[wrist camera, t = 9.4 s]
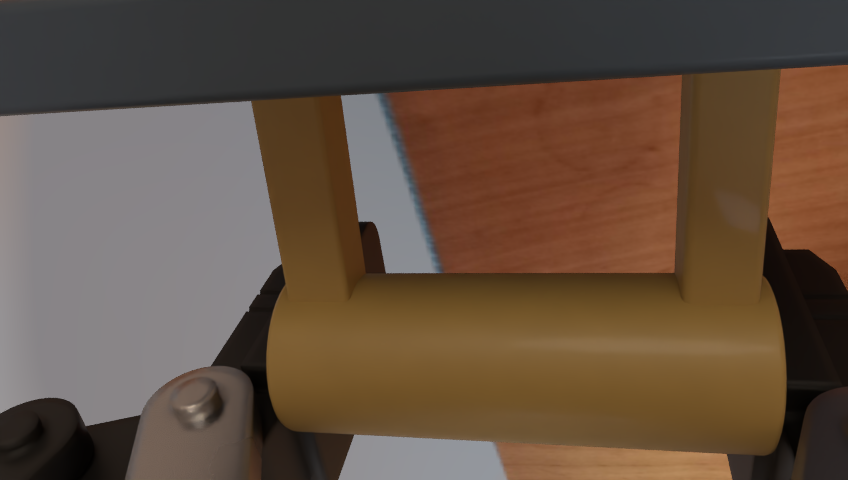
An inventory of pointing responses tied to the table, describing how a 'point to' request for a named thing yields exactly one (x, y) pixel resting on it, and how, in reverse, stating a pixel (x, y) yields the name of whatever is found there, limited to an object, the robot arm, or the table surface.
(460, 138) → the table surface
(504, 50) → the lid
